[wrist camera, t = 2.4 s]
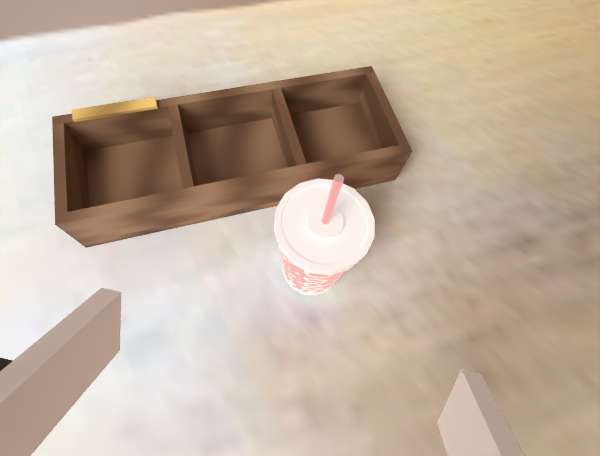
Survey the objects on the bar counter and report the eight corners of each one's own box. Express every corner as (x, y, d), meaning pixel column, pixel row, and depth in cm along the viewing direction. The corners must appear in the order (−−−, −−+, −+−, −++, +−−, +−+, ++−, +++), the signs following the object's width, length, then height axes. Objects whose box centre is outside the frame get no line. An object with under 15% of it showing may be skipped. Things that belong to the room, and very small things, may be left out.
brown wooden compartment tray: (359, 99, 38) (371, 61, 33) (395, 179, 34) (413, 148, 30) (79, 148, 33) (50, 111, 29) (85, 247, 29) (52, 222, 25)
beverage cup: (263, 292, 29) (256, 216, 16) (285, 224, 31) (294, 112, 18) (337, 314, 29) (391, 255, 16) (354, 244, 31) (411, 144, 18)
